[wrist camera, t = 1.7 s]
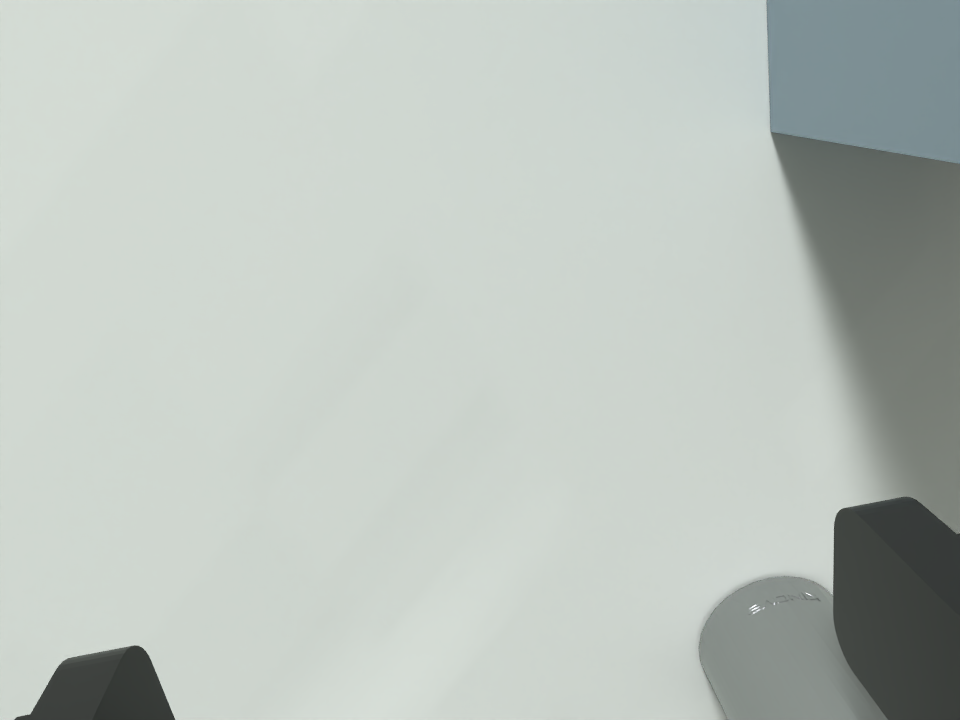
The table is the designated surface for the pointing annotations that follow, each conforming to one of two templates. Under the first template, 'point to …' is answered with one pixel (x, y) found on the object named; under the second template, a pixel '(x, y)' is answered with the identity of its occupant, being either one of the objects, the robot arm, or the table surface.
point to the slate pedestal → (867, 73)
